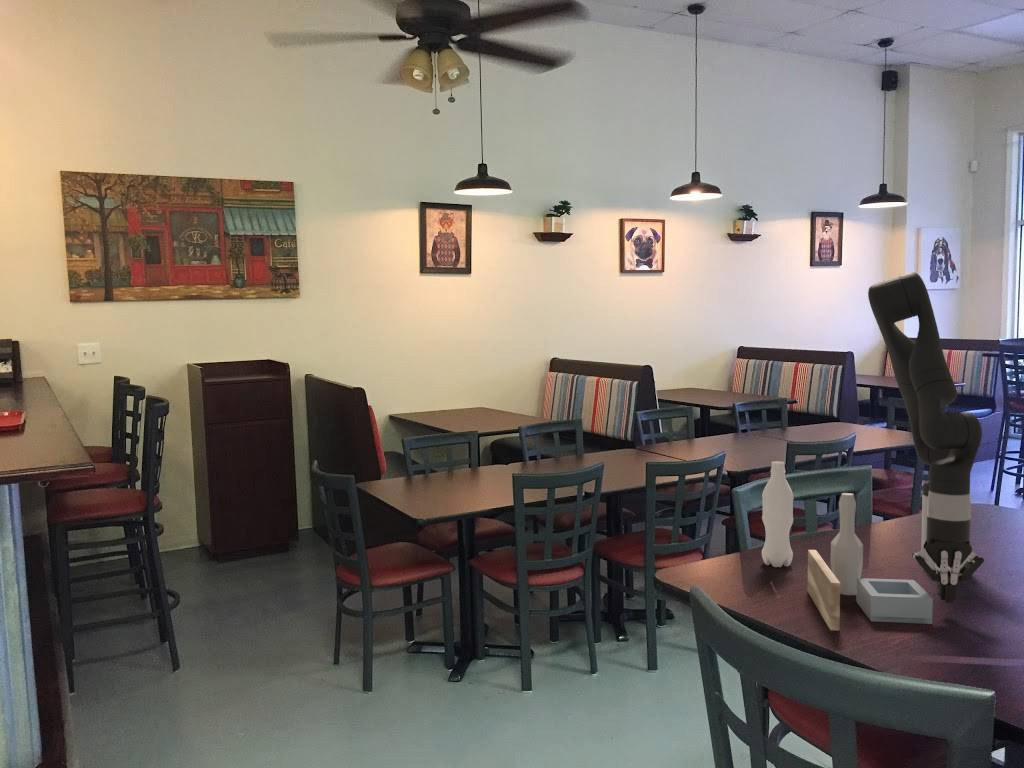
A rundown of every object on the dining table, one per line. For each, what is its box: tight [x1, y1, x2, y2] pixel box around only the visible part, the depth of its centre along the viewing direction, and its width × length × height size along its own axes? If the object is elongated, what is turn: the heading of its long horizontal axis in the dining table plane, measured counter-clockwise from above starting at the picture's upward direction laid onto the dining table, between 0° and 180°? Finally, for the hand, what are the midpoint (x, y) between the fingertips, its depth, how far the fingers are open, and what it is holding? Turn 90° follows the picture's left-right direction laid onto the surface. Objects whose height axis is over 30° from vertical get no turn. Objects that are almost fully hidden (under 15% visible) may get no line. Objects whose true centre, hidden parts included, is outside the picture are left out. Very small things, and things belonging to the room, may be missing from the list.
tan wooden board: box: [807, 549, 841, 631], centre depth 161 cm, size 22×22×10 cm
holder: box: [855, 577, 934, 625], centre depth 160 cm, size 11×11×5 cm
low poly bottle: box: [830, 492, 864, 596], centre depth 172 cm, size 6×6×22 cm
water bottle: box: [761, 460, 794, 568], centre depth 195 cm, size 7×7×25 cm
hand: (946, 601), depth 159 cm, fingers closed
